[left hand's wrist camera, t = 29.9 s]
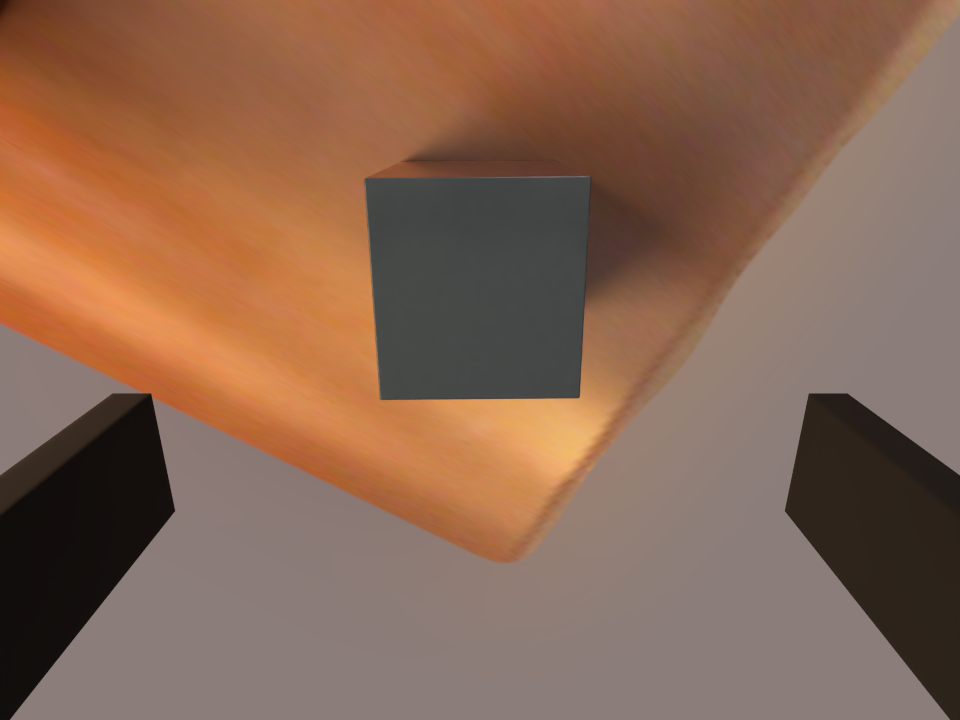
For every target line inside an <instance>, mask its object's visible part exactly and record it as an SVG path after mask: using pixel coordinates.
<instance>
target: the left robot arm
mask: <svg viewBox="0 0 960 720" xmlns="http://www.w3.org/2000/svg"><path fill="white" fill-rule="evenodd" d="M174 512H175V508H174V503H173V498H172V493H171V489H170V484H169V479H168V474H167V469H166V464H165V459H164V454H163V450H162V445H161V440H160V435H159V430H158V425H157V420H156V415H155V410H154V405H153V401H152V396H151V394H111V395H110V396H109V397H107V398H106V399H105V400H103V401H102V402H101V403H99V404H98V405H96V406H95V407H94V408H92V409H91V410H89V411H88V412H87V413H85V414H84V415H83V416H81V417H80V418H78V419H77V420H76V421H74V422H73V423H72V424H70V425H69V426H67V427H66V428H65V429H63V430H62V431H61V432H59V433H58V434H57V435H55V436H54V437H52V438H51V439H50V440H48V441H47V442H46V443H44V444H43V445H41V446H40V447H39V448H37V449H36V450H35V451H33V452H32V453H30V454H29V455H28V456H26V457H25V458H24V459H22V460H21V461H20V462H18V463H17V464H15V465H14V466H13V467H11V468H10V469H8V470H7V471H6V472H4V473H3V474H2V475H0V720H10V719H11V717H12V716H13V715H14V714H15V712H16V711H17V710H18V709H19V707H20V706H21V705H22V704H23V702H24V701H25V700H26V699H27V697H28V696H29V695H30V693H31V692H32V691H33V690H34V688H35V687H36V686H37V685H38V683H39V682H40V681H41V680H42V678H43V677H44V676H45V675H46V673H47V672H48V671H49V669H50V668H51V667H52V666H53V664H54V663H55V662H56V661H57V659H58V658H59V657H60V656H61V654H62V653H63V652H64V651H65V649H66V648H67V647H68V645H69V644H70V643H71V642H72V640H73V639H74V638H75V637H76V635H77V634H78V633H79V632H80V630H81V629H82V628H83V627H84V625H85V624H86V623H87V622H88V620H89V619H90V618H91V616H92V615H93V614H94V613H95V611H96V610H97V609H98V608H99V606H100V605H101V604H102V603H103V601H104V600H105V599H106V598H107V596H108V595H109V594H110V593H111V591H112V590H113V589H114V587H115V586H116V585H117V584H118V582H119V581H120V580H121V579H122V577H123V576H124V575H125V574H126V572H127V571H128V570H129V569H130V567H131V566H132V565H133V563H134V562H135V561H136V560H137V558H138V557H139V556H140V555H141V553H142V552H143V551H144V550H145V548H146V547H147V546H148V545H149V543H150V542H151V541H152V539H153V538H154V537H155V536H156V534H157V533H158V532H159V531H160V529H161V528H162V527H163V526H164V524H165V523H166V522H167V521H168V519H169V518H170V517H171V515H172V514H173V513H174ZM785 512H786V513H787V514H788V516H789V517H790V518H791V519H792V521H793V522H794V523H795V524H796V526H797V527H798V528H799V529H800V531H801V532H802V533H803V534H804V536H805V537H806V538H807V539H808V541H809V542H810V543H811V544H812V546H813V547H814V548H815V550H816V551H817V552H818V553H819V555H820V556H821V557H822V558H823V560H824V561H825V562H826V563H827V565H828V566H829V567H830V568H831V570H832V571H833V572H834V574H835V575H836V576H837V577H838V579H839V580H840V581H841V582H842V584H843V585H844V586H845V587H846V589H847V590H848V591H849V593H850V594H851V595H852V596H853V598H854V599H855V600H856V601H857V603H858V604H859V605H860V606H861V608H862V609H863V610H864V611H865V613H866V614H867V615H868V616H869V618H870V619H871V620H872V621H873V623H874V624H875V625H876V627H877V628H878V629H879V630H880V632H881V633H882V634H883V635H884V637H885V638H886V639H887V640H888V642H889V643H890V644H891V646H892V647H893V648H894V649H895V651H896V652H897V653H898V654H899V656H900V657H901V658H902V659H903V661H904V662H905V663H906V664H907V666H908V667H909V668H910V670H911V671H912V672H913V673H914V675H915V676H916V677H917V678H918V680H919V681H920V682H921V683H922V685H923V686H924V687H925V688H926V690H927V691H928V692H929V693H930V695H931V696H932V697H933V699H934V700H935V701H936V702H937V704H938V705H939V706H940V707H941V709H942V710H943V711H944V712H945V714H946V715H947V716H948V717H949V719H950V720H960V475H958V474H957V473H956V472H954V471H953V470H952V469H950V468H949V467H947V466H946V465H945V464H943V463H942V462H941V461H939V460H938V459H936V458H935V457H934V456H932V455H931V454H929V453H928V452H927V451H925V450H924V449H923V448H921V447H920V446H919V445H917V444H916V443H914V442H913V441H912V440H910V439H909V438H908V437H906V436H905V435H903V434H902V433H901V432H899V431H898V430H897V429H895V428H894V427H893V426H891V425H890V424H888V423H887V422H886V421H884V420H883V419H882V418H880V417H879V416H877V415H876V414H875V413H873V412H872V411H871V410H869V409H868V408H866V407H865V406H864V405H862V404H861V403H859V402H858V401H857V400H855V399H854V398H853V397H851V396H850V395H849V394H809V396H808V401H807V405H806V410H805V415H804V420H803V425H802V430H801V435H800V440H799V445H798V449H797V455H796V459H795V464H794V469H793V474H792V479H791V484H790V489H789V493H788V498H787V503H786V508H785Z"/></svg>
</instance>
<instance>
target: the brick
mask: <svg viewBox="0 0 960 720" xmlns="http://www.w3.org/2000/svg"><path fill="white" fill-rule="evenodd" d="M364 184H365V198H366V212H367V226H368V240H369V254H370V268H371V282H372V296H373V310H374V324H375V338H376V352H377V366H378V379H379V393H380V400H421V399H545V398H579V397H580V381H581V362H582V343H583V324H584V305H585V286H586V267H587V248H588V229H589V210H590V191H591V176H589V175H586V174H584V173H582V172H580V171H578V170H575V169H573V168H571V167H569V166H567V165H564V164H562V163H560V162H558V161H555V160H490V161H402V162H400V163H397V164H395V165H393V166H391V167H389V168H386V169H384V170H382V171H380V172H378V173H375V174H373V175H371V176H369V177H367V178H365V179H364Z"/></svg>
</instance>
